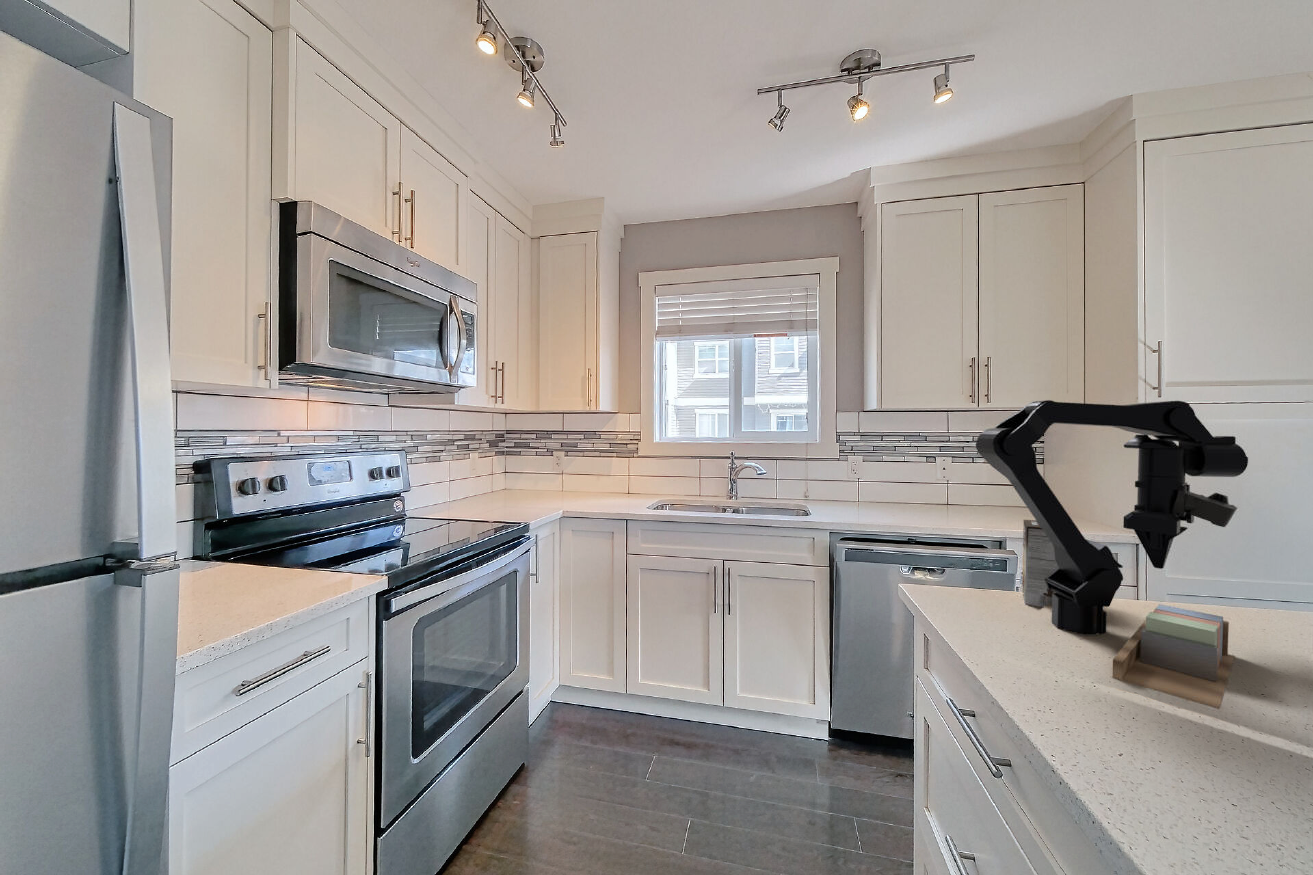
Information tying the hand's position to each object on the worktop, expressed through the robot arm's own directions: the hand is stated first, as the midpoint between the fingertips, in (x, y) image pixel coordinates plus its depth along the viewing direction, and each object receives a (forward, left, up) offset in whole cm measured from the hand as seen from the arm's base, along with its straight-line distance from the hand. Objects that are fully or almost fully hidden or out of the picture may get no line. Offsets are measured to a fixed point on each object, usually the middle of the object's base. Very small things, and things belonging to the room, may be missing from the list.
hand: (1158, 567), depth 87 cm
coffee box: (-12, +15, -12) cm, 23 cm away
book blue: (+1, -7, -11) cm, 13 cm away
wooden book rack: (-4, -15, -12) cm, 19 cm away
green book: (-4, -14, -11) cm, 18 cm away
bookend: (-5, -17, -11) cm, 20 cm away
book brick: (-1, -11, -11) cm, 16 cm away
